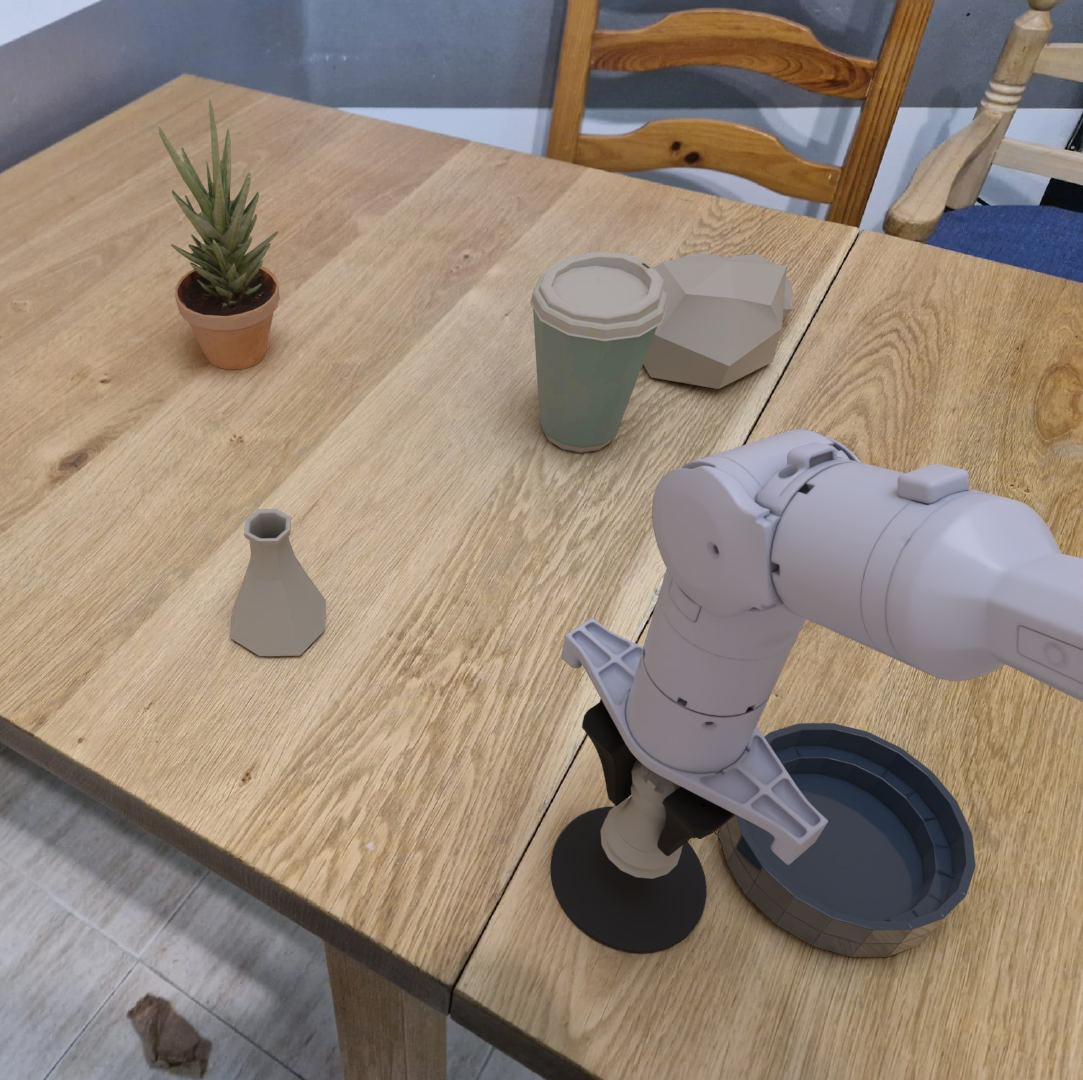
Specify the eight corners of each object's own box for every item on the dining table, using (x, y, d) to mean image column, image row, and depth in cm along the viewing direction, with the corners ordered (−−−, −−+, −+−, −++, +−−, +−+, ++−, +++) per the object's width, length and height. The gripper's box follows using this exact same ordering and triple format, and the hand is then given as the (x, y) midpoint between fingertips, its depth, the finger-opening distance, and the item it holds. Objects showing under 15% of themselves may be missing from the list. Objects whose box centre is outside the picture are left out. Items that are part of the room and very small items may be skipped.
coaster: (737, 893, 59) (739, 890, 58) (629, 986, 55) (630, 983, 55) (624, 783, 64) (625, 780, 63) (518, 862, 60) (519, 859, 60)
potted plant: (180, 383, 94) (133, 121, 76) (191, 326, 101) (150, 72, 83) (287, 381, 94) (264, 118, 76) (290, 323, 101) (270, 70, 83)
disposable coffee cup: (558, 483, 84) (584, 330, 73) (492, 411, 90) (506, 262, 80) (662, 446, 87) (701, 294, 76) (590, 379, 94) (617, 232, 83)
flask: (252, 575, 77) (238, 478, 70) (341, 596, 75) (336, 499, 68) (213, 646, 72) (194, 550, 65) (307, 670, 70) (299, 574, 63)
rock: (575, 307, 102) (589, 219, 95) (750, 276, 106) (776, 189, 99) (661, 414, 90) (684, 322, 83) (855, 375, 93) (893, 283, 87)
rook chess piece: (593, 870, 56) (617, 795, 50) (604, 801, 59) (628, 723, 53) (676, 892, 55) (710, 818, 49) (682, 820, 58) (715, 743, 52)
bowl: (991, 873, 59) (1021, 840, 56) (856, 1008, 54) (882, 979, 51) (806, 724, 67) (825, 688, 64) (672, 830, 61) (686, 796, 59)
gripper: (907, 729, 42) (809, 878, 52) (648, 532, 50) (605, 692, 60) (800, 820, 39) (717, 959, 49) (545, 596, 48) (517, 752, 57)
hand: (649, 817), depth 54 cm, fingers closed on rook chess piece, 3 cm apart
